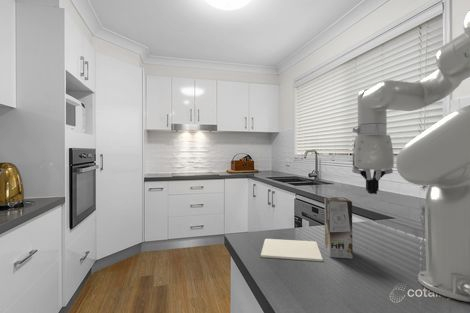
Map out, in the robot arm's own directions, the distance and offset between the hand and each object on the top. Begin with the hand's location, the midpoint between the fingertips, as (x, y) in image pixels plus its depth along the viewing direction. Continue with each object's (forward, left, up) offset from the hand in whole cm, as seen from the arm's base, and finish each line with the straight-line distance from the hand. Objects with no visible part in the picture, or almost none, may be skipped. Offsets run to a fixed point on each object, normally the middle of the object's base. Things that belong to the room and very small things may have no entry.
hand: (372, 193), depth 74 cm
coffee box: (0, +10, -18) cm, 21 cm away
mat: (0, +24, -18) cm, 30 cm away
